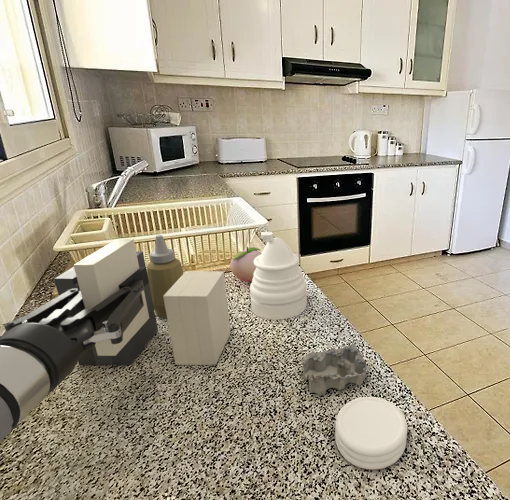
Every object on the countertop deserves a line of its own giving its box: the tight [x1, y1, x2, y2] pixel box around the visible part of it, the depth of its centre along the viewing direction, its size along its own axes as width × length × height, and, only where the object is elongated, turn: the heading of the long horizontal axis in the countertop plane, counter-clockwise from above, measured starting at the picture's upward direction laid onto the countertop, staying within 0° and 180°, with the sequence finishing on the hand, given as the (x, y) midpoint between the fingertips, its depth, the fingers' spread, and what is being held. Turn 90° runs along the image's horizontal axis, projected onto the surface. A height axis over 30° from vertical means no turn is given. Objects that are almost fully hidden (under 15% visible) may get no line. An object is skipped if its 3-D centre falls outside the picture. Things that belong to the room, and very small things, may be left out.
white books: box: [163, 270, 232, 366], centre depth 69 cm, size 7×10×14 cm
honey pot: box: [249, 231, 308, 321], centre depth 84 cm, size 13×13×18 cm
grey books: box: [53, 251, 159, 366], centre depth 68 cm, size 9×11×18 cm
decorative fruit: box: [229, 245, 262, 283], centre depth 97 cm, size 9×8×10 cm
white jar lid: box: [334, 396, 408, 471], centre depth 52 cm, size 10×10×4 cm
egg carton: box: [300, 343, 371, 396], centre depth 64 cm, size 11×8×4 cm
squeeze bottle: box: [146, 234, 185, 319], centre depth 80 cm, size 8×8×18 cm
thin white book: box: [73, 238, 149, 356], centre depth 55 cm, size 2×10×14 cm, turn 1°
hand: (134, 274), depth 60 cm, fingers closed on thin white book, 2 cm apart
